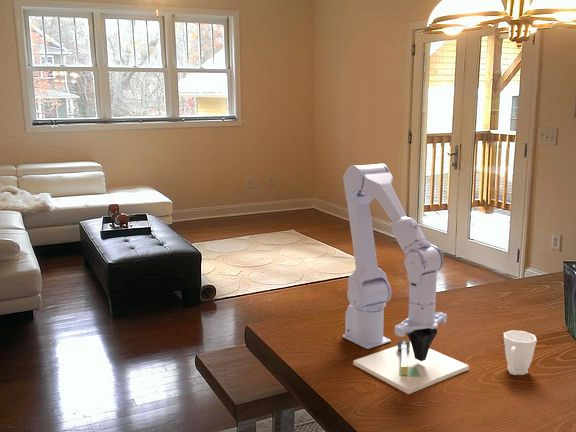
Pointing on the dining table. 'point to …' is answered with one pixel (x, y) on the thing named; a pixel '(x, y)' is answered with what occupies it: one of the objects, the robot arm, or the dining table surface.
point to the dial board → (410, 368)
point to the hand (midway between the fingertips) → (420, 359)
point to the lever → (404, 355)
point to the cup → (519, 351)
